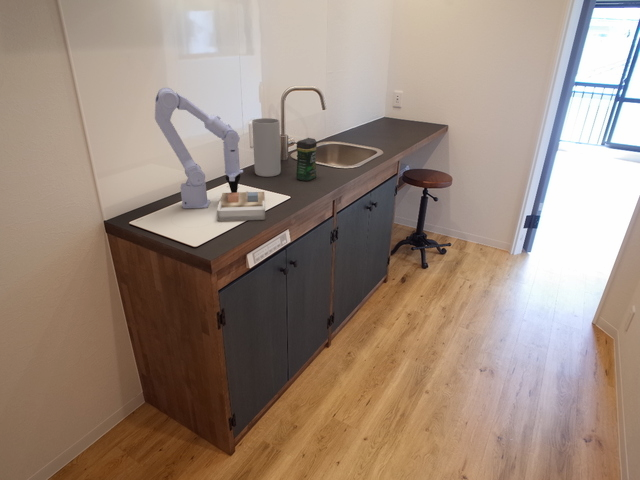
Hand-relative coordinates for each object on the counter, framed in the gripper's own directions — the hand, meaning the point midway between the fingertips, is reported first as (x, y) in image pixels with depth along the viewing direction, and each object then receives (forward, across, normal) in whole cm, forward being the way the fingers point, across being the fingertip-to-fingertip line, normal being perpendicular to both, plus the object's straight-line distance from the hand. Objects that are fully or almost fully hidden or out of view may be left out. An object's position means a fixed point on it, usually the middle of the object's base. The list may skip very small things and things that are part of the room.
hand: (234, 192), depth 169 cm
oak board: (+3, -5, -4) cm, 7 cm away
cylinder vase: (+3, +35, -14) cm, 38 cm away
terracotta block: (+1, -7, 0) cm, 7 cm away
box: (+3, -17, -4) cm, 17 cm away
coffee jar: (+3, +26, -32) cm, 41 cm away
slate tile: (+1, -7, -8) cm, 10 cm away
